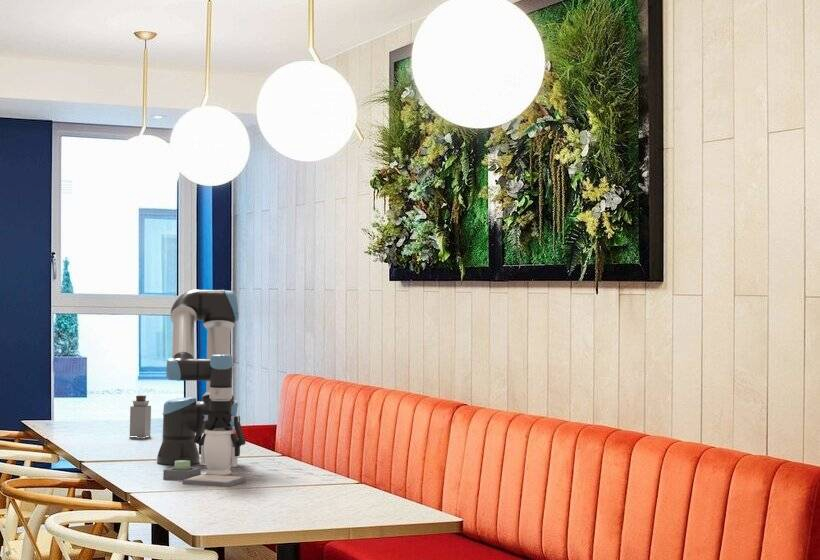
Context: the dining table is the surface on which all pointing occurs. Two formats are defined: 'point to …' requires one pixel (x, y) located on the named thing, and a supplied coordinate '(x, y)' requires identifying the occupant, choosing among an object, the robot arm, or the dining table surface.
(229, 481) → the board
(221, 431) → the jar
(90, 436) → the dining table surface
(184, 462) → the button
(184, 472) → the button housing
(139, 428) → the perfume bottle
